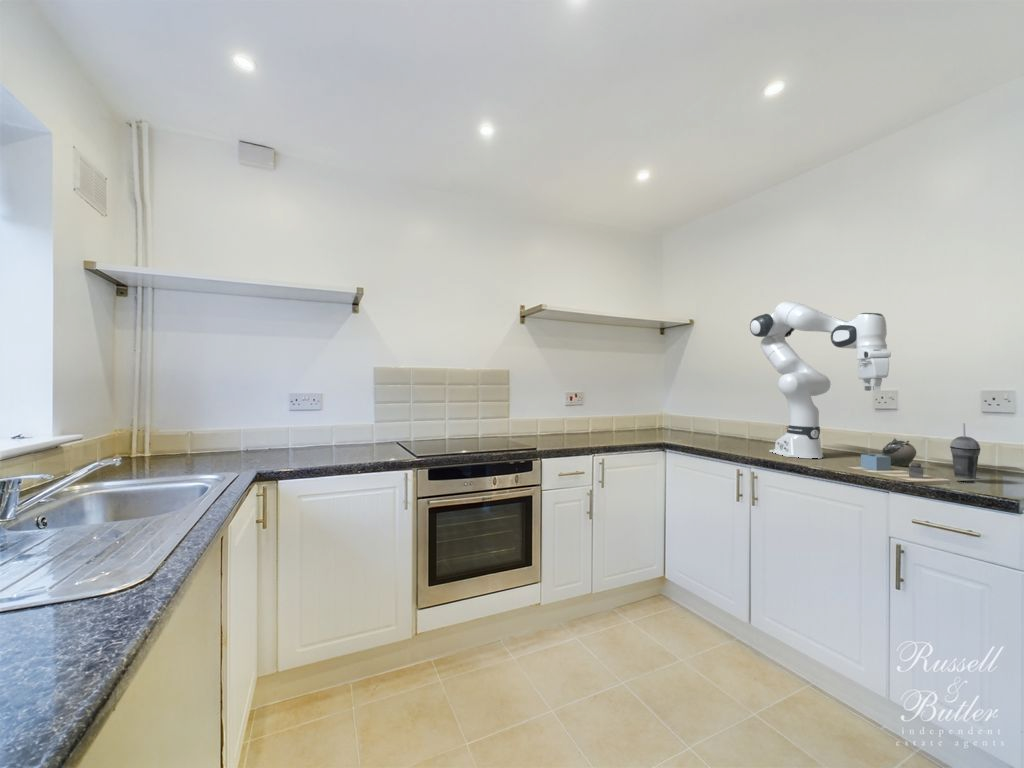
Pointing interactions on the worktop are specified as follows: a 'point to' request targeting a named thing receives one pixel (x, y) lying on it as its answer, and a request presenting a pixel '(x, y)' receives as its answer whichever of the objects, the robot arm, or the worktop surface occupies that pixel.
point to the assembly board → (906, 476)
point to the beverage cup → (965, 457)
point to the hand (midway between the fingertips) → (872, 390)
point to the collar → (876, 462)
